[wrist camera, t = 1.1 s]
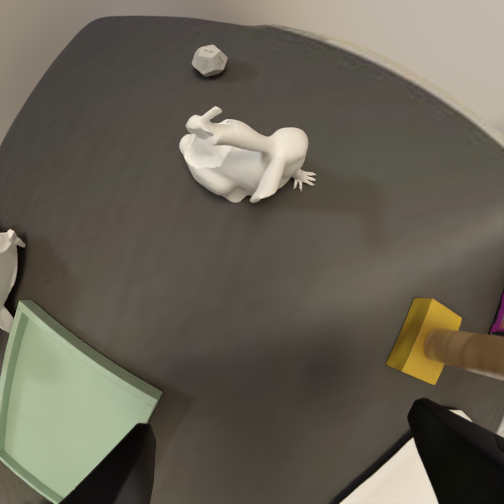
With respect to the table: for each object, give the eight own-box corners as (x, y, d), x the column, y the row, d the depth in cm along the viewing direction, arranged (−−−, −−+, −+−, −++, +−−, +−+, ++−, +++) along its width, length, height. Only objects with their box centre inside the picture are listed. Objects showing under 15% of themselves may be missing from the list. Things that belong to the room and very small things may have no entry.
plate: (485, 452, 23) (492, 456, 21) (383, 549, 20) (387, 554, 18) (444, 386, 24) (453, 389, 22) (301, 516, 21) (304, 525, 19)
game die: (206, 55, 26) (205, 36, 23) (233, 67, 26) (234, 48, 23) (185, 73, 25) (182, 54, 22) (213, 86, 25) (212, 67, 22)
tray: (100, 519, 18) (95, 529, 16) (2, 448, 18) (-7, 453, 16) (163, 391, 22) (157, 400, 20) (31, 299, 21) (19, 300, 19)
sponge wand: (417, 378, 24) (518, 417, 10) (385, 364, 24) (492, 408, 10) (444, 316, 25) (550, 323, 11) (414, 297, 25) (530, 297, 11)
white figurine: (318, 176, 25) (362, 122, 16) (287, 252, 24) (326, 230, 14) (198, 126, 25) (188, 55, 15) (159, 195, 24) (123, 144, 14)
